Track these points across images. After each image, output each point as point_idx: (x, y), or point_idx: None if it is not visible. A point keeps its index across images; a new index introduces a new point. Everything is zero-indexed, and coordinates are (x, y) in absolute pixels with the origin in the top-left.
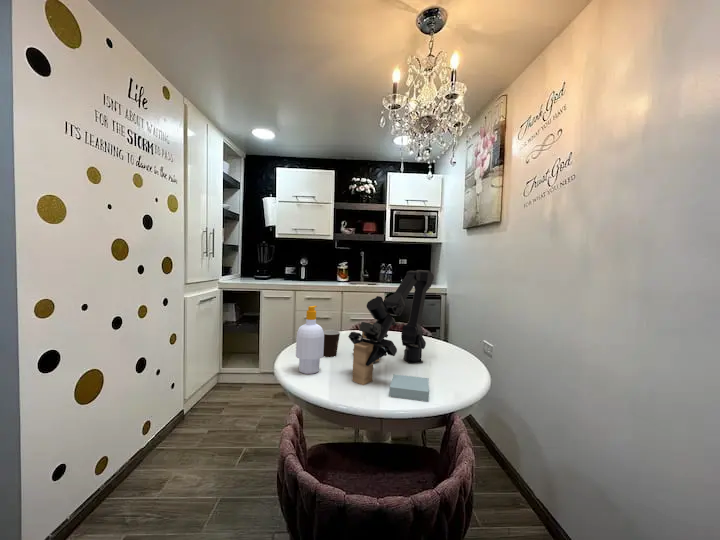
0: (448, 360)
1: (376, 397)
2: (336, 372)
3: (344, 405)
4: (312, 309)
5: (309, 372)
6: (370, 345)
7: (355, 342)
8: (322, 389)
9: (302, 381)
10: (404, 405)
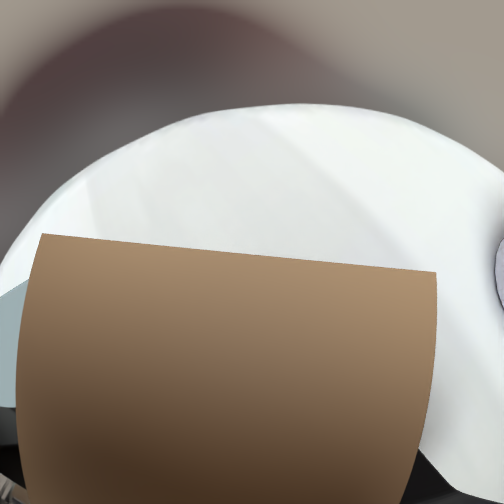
0: None
1: (111, 238)
2: (450, 371)
3: (187, 120)
4: None
5: (500, 246)
6: (27, 445)
7: (490, 501)
8: (344, 157)
9: (452, 175)
10: (33, 248)
